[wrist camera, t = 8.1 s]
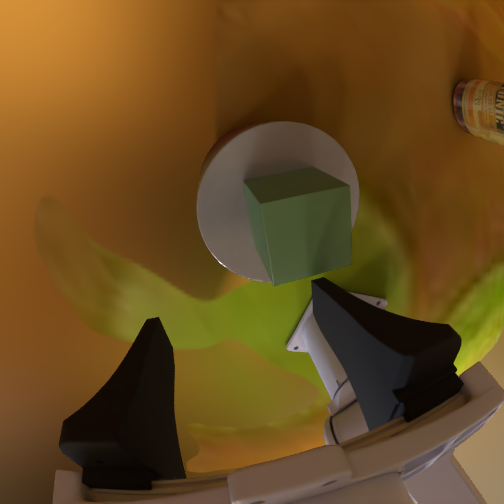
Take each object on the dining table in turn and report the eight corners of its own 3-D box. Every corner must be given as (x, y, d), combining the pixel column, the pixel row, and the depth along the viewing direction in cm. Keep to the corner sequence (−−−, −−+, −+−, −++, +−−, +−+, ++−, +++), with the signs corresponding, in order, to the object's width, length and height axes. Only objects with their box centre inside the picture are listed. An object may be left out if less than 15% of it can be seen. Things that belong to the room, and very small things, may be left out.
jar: (338, 147, 21) (382, 161, 16) (292, 254, 25) (320, 294, 19) (220, 100, 18) (232, 94, 13) (179, 225, 21) (177, 264, 16)
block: (314, 166, 15) (350, 184, 12) (320, 232, 17) (352, 264, 14) (242, 180, 15) (259, 203, 11) (255, 248, 17) (273, 286, 13)
